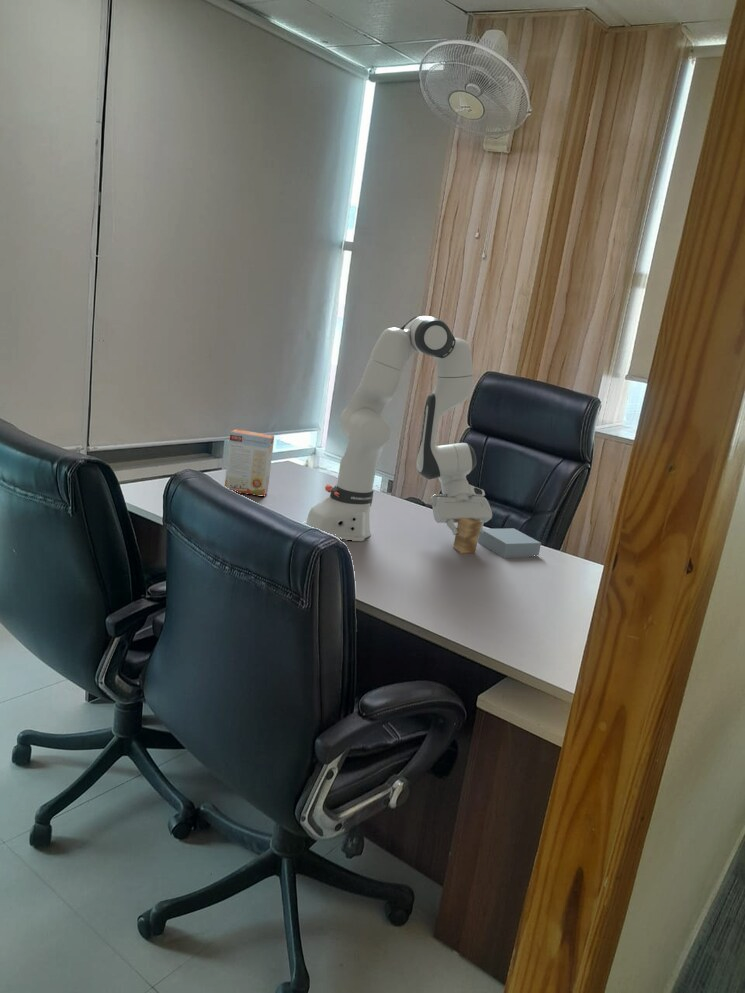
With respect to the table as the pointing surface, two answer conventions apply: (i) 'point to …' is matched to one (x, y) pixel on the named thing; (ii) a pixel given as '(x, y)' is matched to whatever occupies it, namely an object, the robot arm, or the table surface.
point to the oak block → (467, 535)
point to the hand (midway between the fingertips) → (468, 534)
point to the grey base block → (509, 543)
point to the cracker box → (249, 462)
